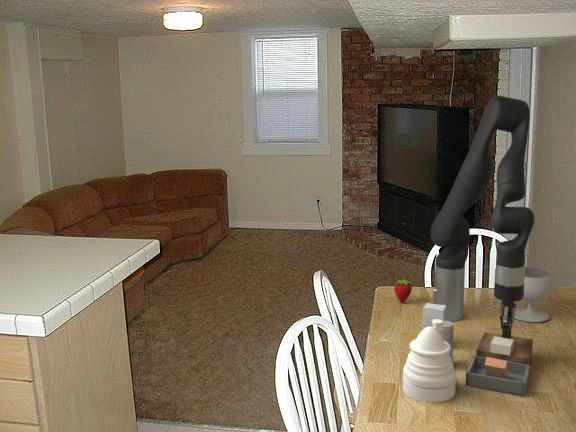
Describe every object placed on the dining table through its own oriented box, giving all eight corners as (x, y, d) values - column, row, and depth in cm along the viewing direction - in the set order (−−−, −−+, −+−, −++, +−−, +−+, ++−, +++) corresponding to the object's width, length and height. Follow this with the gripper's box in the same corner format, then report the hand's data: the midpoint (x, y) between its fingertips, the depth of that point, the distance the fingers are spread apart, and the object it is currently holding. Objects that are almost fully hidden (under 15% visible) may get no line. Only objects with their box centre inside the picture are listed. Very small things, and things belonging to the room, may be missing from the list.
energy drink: (429, 361, 171) (430, 320, 169) (448, 359, 172) (449, 319, 169) (435, 369, 166) (436, 327, 164) (455, 368, 167) (456, 326, 164)
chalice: (498, 316, 202) (500, 272, 199) (521, 305, 211) (523, 263, 208) (539, 328, 192) (542, 281, 189) (561, 316, 201) (564, 272, 197)
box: (465, 385, 157) (466, 373, 157) (473, 367, 167) (473, 355, 166) (524, 396, 151) (525, 383, 150) (528, 377, 161) (529, 364, 160)
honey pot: (437, 374, 164) (439, 309, 160) (465, 396, 152) (468, 327, 148) (393, 382, 160) (394, 316, 156) (419, 406, 148) (421, 336, 144)
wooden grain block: (475, 367, 167) (476, 350, 166) (483, 348, 178) (484, 332, 177) (527, 376, 161) (528, 358, 160) (532, 356, 173) (533, 339, 172)
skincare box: (446, 343, 182) (447, 305, 180) (443, 349, 179) (444, 310, 176) (425, 340, 185) (426, 302, 182) (422, 346, 181) (423, 307, 179)
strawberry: (412, 300, 218) (413, 273, 216) (410, 307, 211) (410, 279, 209) (395, 299, 220) (396, 272, 218) (392, 306, 213) (392, 278, 211)
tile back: (490, 351, 165) (490, 343, 164) (494, 344, 169) (494, 336, 168) (509, 355, 162) (510, 346, 162) (513, 348, 167) (513, 339, 166)
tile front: (488, 368, 162) (486, 376, 161) (486, 356, 159) (484, 364, 158) (508, 372, 160) (506, 380, 158) (507, 360, 157) (505, 368, 155)
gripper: (498, 272, 172) (495, 330, 176) (491, 286, 161) (488, 348, 165) (526, 274, 169) (523, 334, 173) (521, 290, 158) (518, 353, 161)
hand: (506, 341), depth 169 cm, fingers closed
